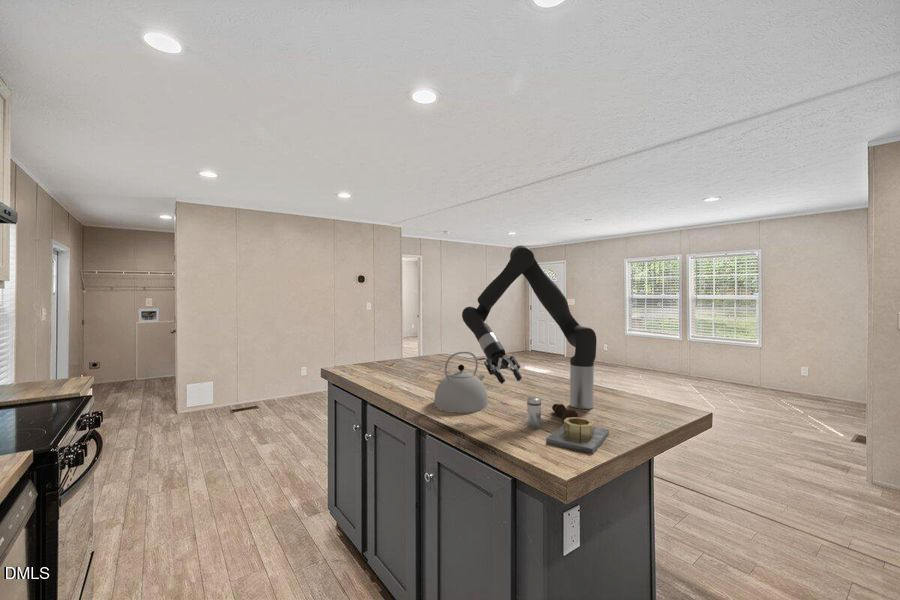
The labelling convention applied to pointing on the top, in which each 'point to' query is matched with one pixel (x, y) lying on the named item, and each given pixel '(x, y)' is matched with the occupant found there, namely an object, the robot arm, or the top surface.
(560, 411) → the bolt
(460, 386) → the kettle
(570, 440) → the square base with ring
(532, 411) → the cylinder
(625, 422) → the top surface
